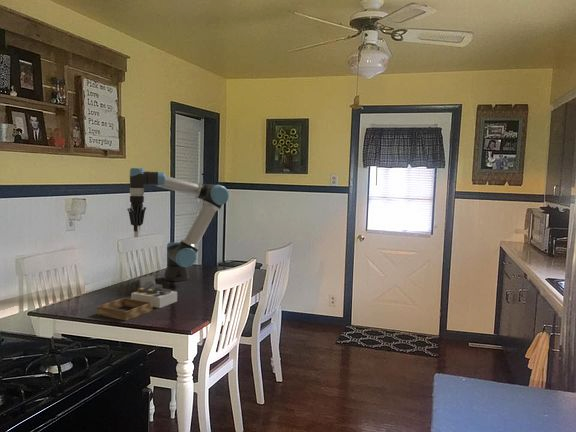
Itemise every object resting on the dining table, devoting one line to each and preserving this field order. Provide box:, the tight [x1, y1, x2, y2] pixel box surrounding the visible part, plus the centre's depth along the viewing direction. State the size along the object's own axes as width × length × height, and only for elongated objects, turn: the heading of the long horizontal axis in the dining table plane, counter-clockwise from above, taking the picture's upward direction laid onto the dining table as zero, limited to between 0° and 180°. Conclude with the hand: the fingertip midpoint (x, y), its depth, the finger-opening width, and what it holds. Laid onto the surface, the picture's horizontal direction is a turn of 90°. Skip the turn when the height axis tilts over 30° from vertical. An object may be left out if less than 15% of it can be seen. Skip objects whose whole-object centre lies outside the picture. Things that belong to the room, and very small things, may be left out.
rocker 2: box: [146, 283, 164, 294], centre depth 248 cm, size 8×4×2 cm, turn 156°
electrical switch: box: [137, 275, 157, 289], centre depth 267 cm, size 9×5×9 cm, turn 141°
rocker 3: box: [155, 288, 172, 293], centre depth 245 cm, size 8×4×2 cm, turn 156°
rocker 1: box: [137, 283, 154, 293], centre depth 250 cm, size 8×4×2 cm, turn 156°
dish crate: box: [96, 297, 154, 321], centre depth 229 cm, size 18×18×4 cm
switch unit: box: [130, 290, 178, 309], centre depth 248 cm, size 14×18×6 cm
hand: (136, 236), depth 274 cm, fingers closed
